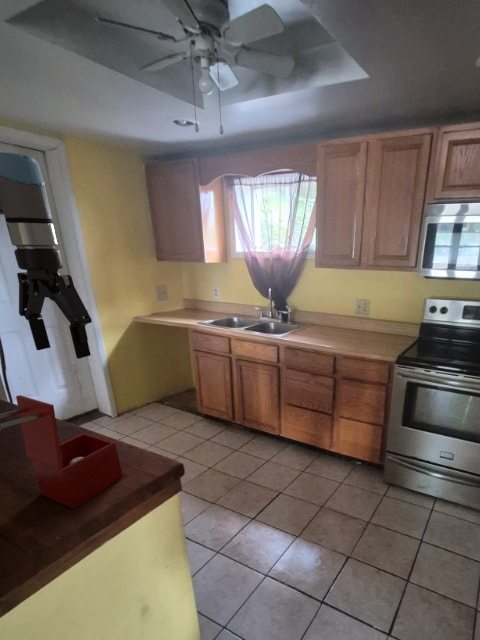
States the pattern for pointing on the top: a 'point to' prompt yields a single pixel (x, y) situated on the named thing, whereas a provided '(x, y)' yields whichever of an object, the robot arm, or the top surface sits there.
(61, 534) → the top surface
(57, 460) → the hatch
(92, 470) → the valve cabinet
